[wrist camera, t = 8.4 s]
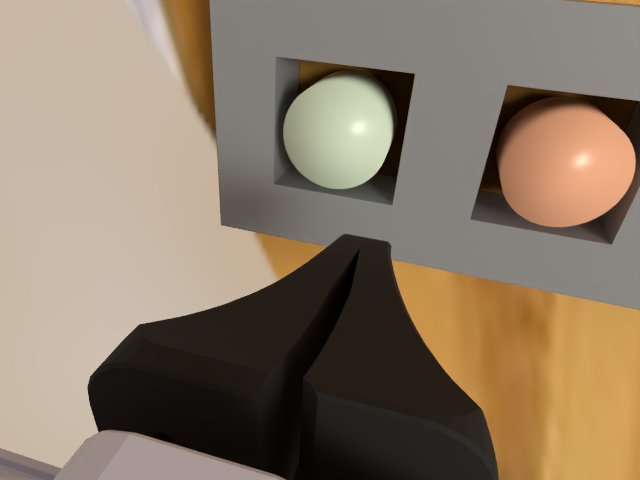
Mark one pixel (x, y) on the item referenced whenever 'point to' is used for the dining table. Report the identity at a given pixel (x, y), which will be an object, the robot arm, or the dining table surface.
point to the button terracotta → (563, 162)
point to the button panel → (428, 130)
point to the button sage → (340, 129)
